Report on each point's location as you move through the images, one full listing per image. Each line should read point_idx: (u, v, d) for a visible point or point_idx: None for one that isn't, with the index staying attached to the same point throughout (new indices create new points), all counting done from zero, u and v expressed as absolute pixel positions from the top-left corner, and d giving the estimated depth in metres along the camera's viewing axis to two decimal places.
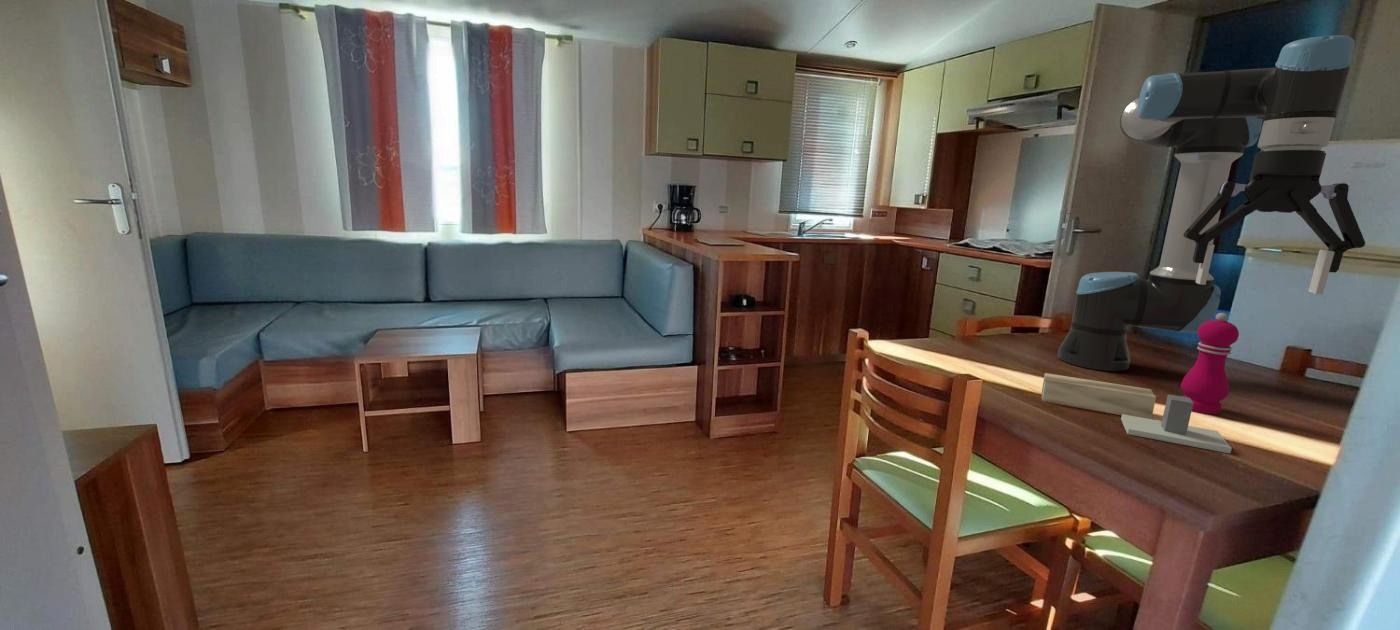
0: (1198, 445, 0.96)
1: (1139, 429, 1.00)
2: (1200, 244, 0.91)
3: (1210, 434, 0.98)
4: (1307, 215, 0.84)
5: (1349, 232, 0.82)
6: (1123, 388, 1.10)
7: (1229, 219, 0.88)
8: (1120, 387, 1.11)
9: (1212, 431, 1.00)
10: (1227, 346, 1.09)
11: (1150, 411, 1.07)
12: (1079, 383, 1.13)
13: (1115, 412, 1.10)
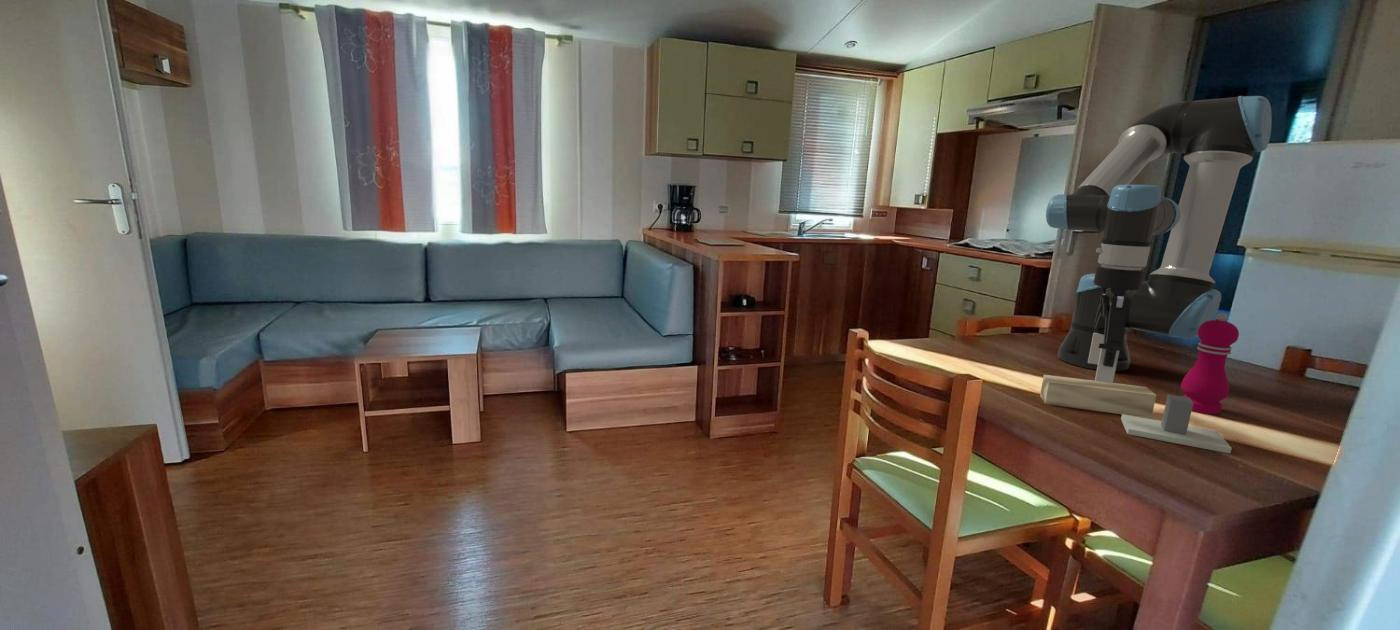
0: (1198, 445, 0.96)
1: (1139, 429, 1.00)
2: (1096, 332, 1.17)
3: (1210, 434, 0.98)
4: (1104, 317, 1.07)
5: (1106, 334, 1.03)
6: (1122, 387, 1.11)
7: (1099, 315, 1.14)
8: (1119, 386, 1.11)
9: (1212, 431, 1.00)
10: (1227, 346, 1.09)
11: (1150, 409, 1.08)
12: (1081, 384, 1.12)
13: (1117, 411, 1.10)
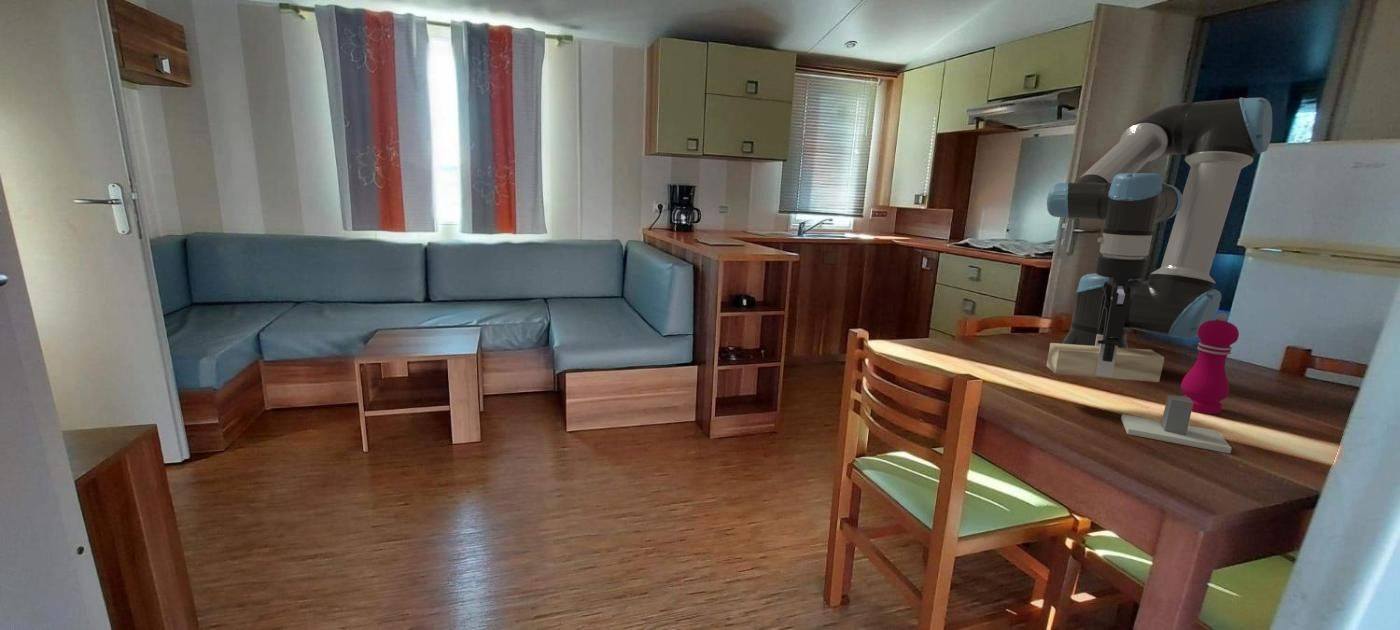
0: (1198, 445, 0.96)
1: (1139, 429, 1.00)
2: (1100, 334, 1.14)
3: (1210, 434, 0.98)
4: (1105, 308, 1.08)
5: (1106, 329, 1.06)
6: (1129, 352, 1.10)
7: (1102, 312, 1.13)
8: (1126, 350, 1.10)
9: (1212, 431, 1.00)
10: (1227, 346, 1.09)
11: (1159, 372, 1.07)
12: (1090, 350, 1.10)
13: (1126, 376, 1.09)
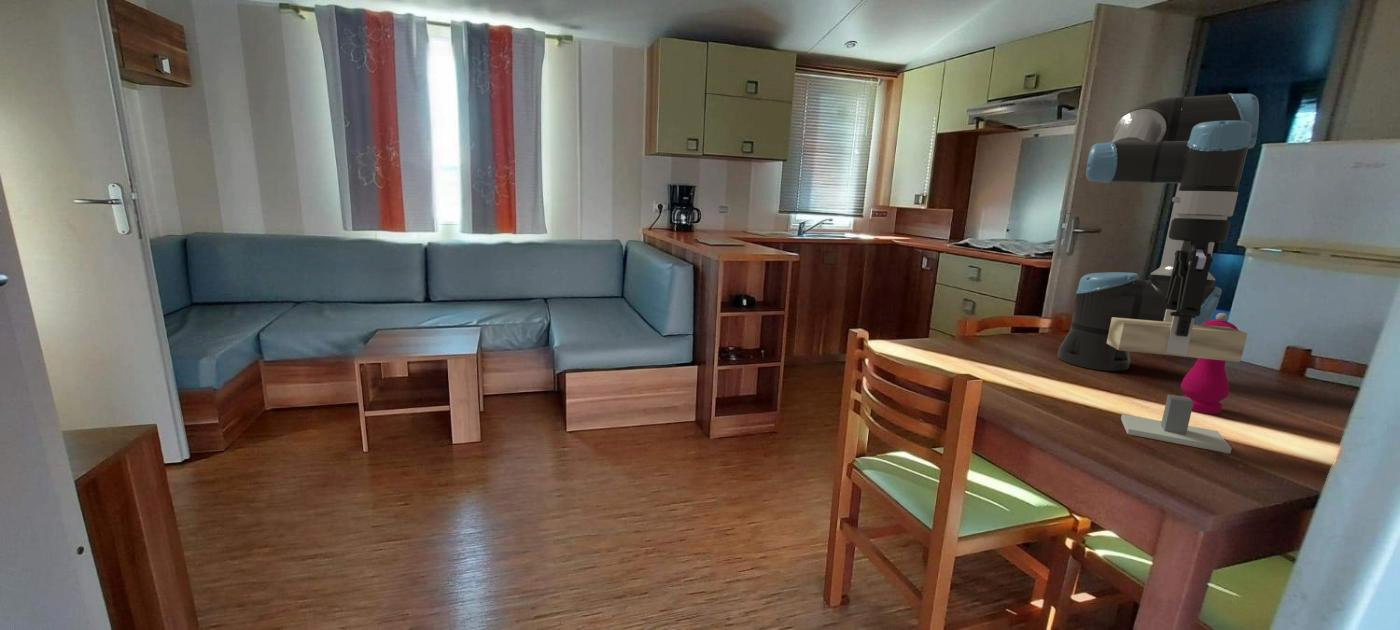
0: (1198, 445, 0.96)
1: (1139, 429, 1.00)
2: (1169, 310, 1.02)
3: (1210, 434, 0.98)
4: (1180, 277, 0.95)
5: (1181, 298, 0.93)
6: (1205, 327, 0.97)
7: (1173, 283, 1.00)
8: (1201, 326, 0.98)
9: (1212, 431, 1.00)
10: None
11: (1240, 350, 0.94)
12: (1159, 324, 0.98)
13: (1201, 354, 0.96)
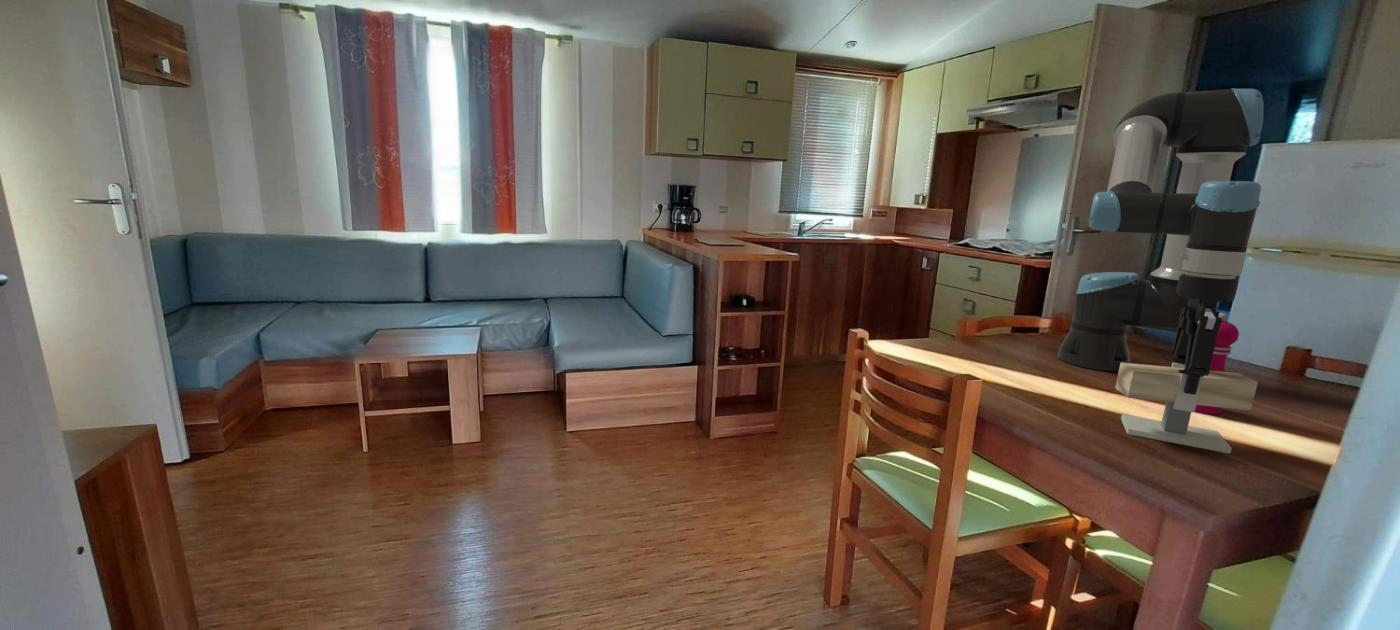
0: (1198, 445, 0.96)
1: (1139, 429, 1.00)
2: (1175, 363, 1.02)
3: (1210, 434, 0.98)
4: (1188, 334, 0.95)
5: (1190, 357, 0.93)
6: (1215, 375, 0.96)
7: (1179, 337, 1.00)
8: (1210, 373, 0.97)
9: (1212, 431, 1.00)
10: (1227, 346, 1.09)
11: (1250, 399, 0.94)
12: (1169, 372, 0.97)
13: (1211, 402, 0.95)
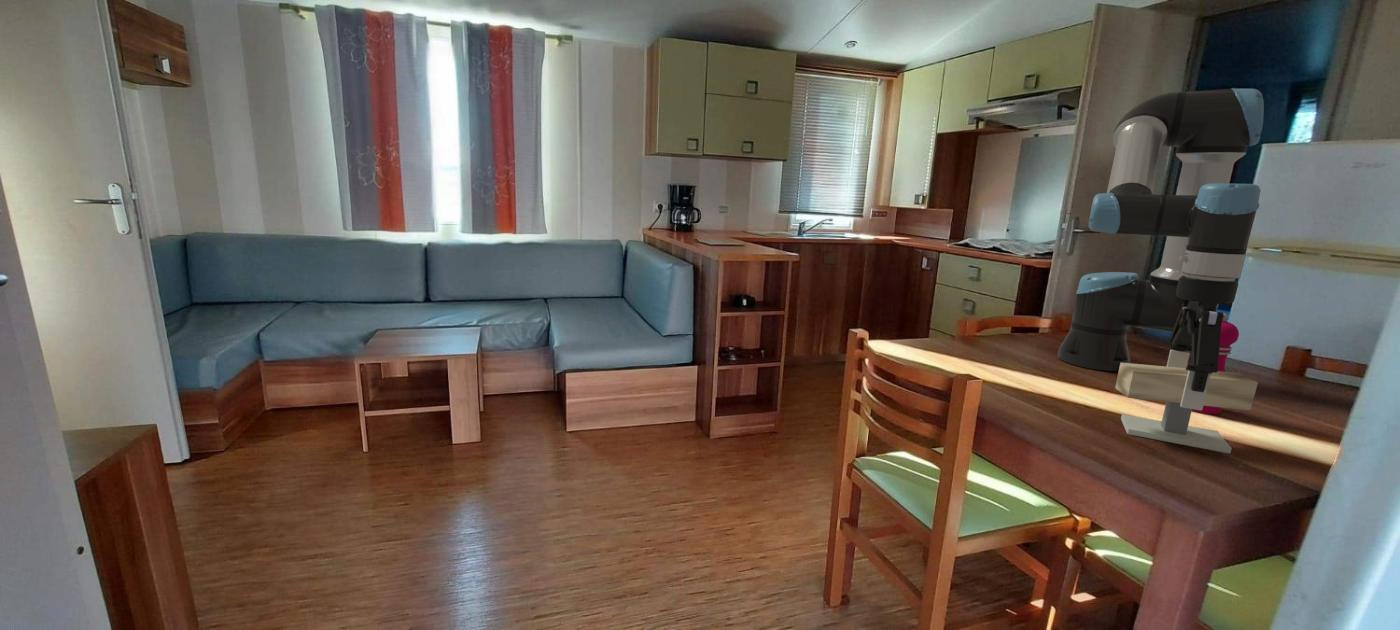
0: (1198, 445, 0.96)
1: (1139, 429, 1.00)
2: (1173, 349, 1.04)
3: (1210, 434, 0.98)
4: (1190, 335, 0.94)
5: (1196, 355, 0.90)
6: (1215, 375, 0.96)
7: (1178, 330, 1.01)
8: None
9: (1212, 431, 1.00)
10: (1227, 346, 1.09)
11: (1250, 398, 0.94)
12: (1169, 372, 0.97)
13: (1211, 402, 0.95)
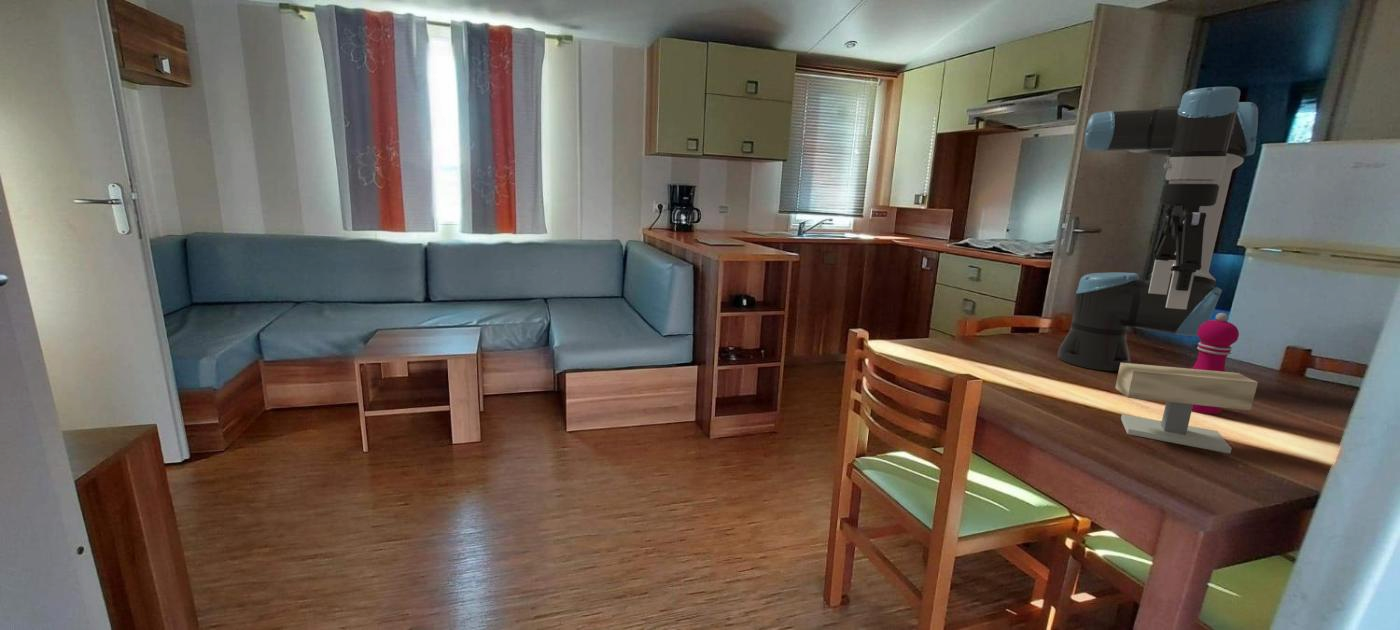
0: (1198, 445, 0.96)
1: (1139, 429, 1.00)
2: None
3: (1210, 434, 0.98)
4: (1174, 238, 0.98)
5: (1181, 255, 0.94)
6: (1215, 375, 0.96)
7: (1162, 239, 1.05)
8: (1210, 373, 0.97)
9: (1212, 431, 1.00)
10: (1227, 346, 1.09)
11: (1250, 398, 0.94)
12: (1169, 372, 0.97)
13: (1211, 402, 0.95)
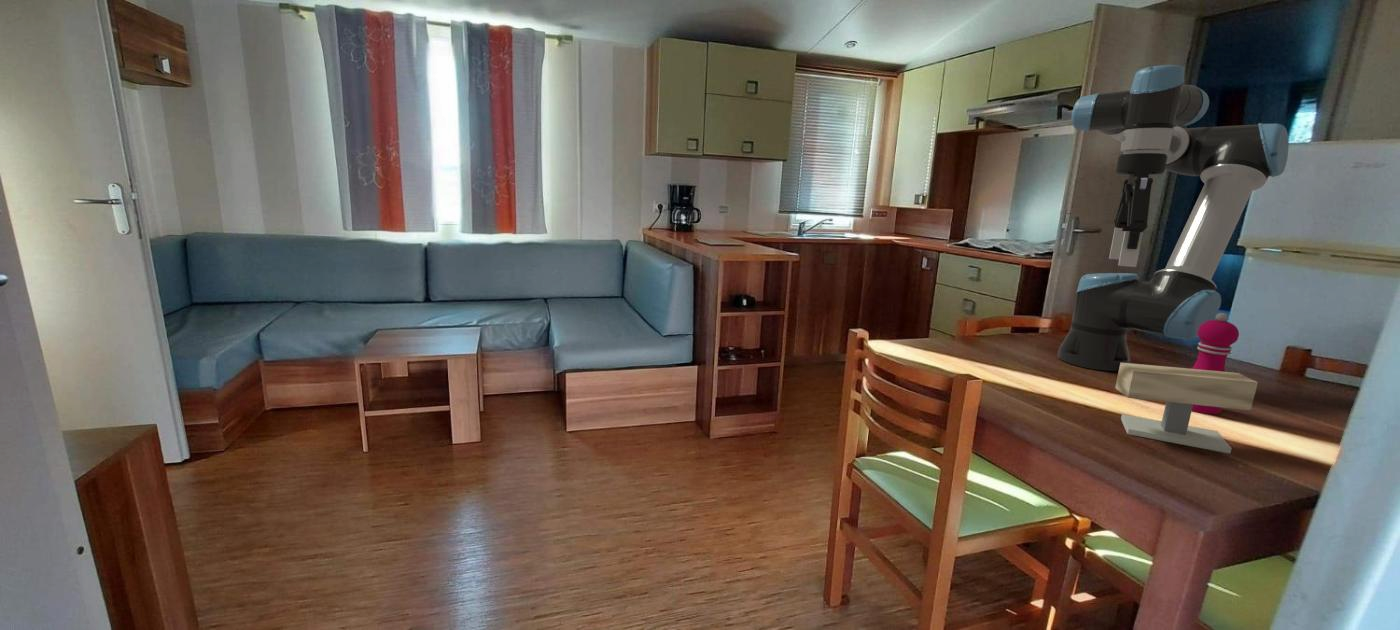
0: (1198, 445, 0.96)
1: (1139, 429, 1.00)
2: (1117, 228, 1.18)
3: (1210, 434, 0.98)
4: (1127, 203, 1.08)
5: (1130, 216, 1.04)
6: (1215, 375, 0.96)
7: (1120, 208, 1.15)
8: (1210, 373, 0.97)
9: (1212, 431, 1.00)
10: (1227, 346, 1.09)
11: (1250, 398, 0.94)
12: (1169, 372, 0.97)
13: (1211, 402, 0.95)
